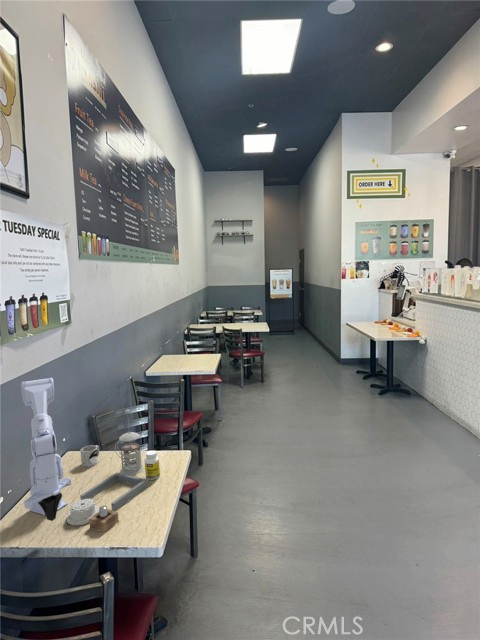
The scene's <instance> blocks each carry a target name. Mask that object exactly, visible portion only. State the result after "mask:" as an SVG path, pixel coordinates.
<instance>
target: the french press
mask: <svg viewBox="0 0 480 640" xmlns="http://www.w3.org/2000/svg"><path fill="white" fill-rule="evenodd" d="M124 413H125V414H127V416H129V413H131V411H130V409H125V411H124ZM127 424H128V428H130V425H129V424H130V423H129V419H127ZM140 437H141V435H140V433H137V432H133V431H128V432H126V433H123V434H121V436H119V438H118V439H119V440H118V441H116V442H115V445H114V450H115V454H116V455H117V456H118V457H119V458H120V459H121V460H120V461H121V469H120V470H119V474H124V475H129V476H135V475H138V474H140V473H142V472H144V470H145V465H144V464H142V453H141V447H140V444H139V443H136V442H134V441H136V440H138V439H139V438H140ZM119 442H120V444H121V445H122V444H123V443H124V442H129V443H126V444H123V445H122V446H121V448H120V449H121V450H119V448H117V449H116V447H117V445H118V444H119ZM132 442H133V443H132ZM117 451H118V452H119V454H120V455H119V454H118V453H117Z"/></svg>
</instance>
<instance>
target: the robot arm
mask: <svg viewBox="0 0 480 640" xmlns="http://www.w3.org/2000/svg"><path fill="white" fill-rule="evenodd" d="M20 388H21V398H22V401H23V404H24V406H25V407H30V408H31V410H32V411H33V418H32V419H31V421H30V425H31V439H30V448H31V455H32V459H31V461H30V463H29V475H30V476H29V477H30V485H31V486H30V489H29V495H30V496H29V498H26V500H24V501H23V506H24V508H25V509H27V510H29V512H33V513H37V514H40V515H44V516H45V517H46V519H47V521H50V522H53V521H54V520H57V519H56V518H57V512H58V510H60V509H62V508H63V507H65V506H67V505H68V503H69V502H68V501H64V500H62V498H63V493H62V491H61V490H63V489H64V488H66V487H70V486H72V479H71V478H70V477H65V478H64V470H63V469H64V468H63V461H62V457H61V456H60V454H58V453H57V450H58V445H57V438H56V434H55V431H54V426H53V419H52V416H50V414H49V415H48V408H49V405H50V404H51V403H52V402H54V401H55V400H54V399H55V392H56V391H55V383H54V378H53V377H48V378H41V379H34V380H28V381H25V380H24V381H22V382H21V383H20ZM54 449H55V450H54ZM63 478H64V479H63Z"/></svg>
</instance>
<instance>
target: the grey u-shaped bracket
mask: <svg viewBox="0 0 480 640" xmlns="http://www.w3.org/2000/svg"><path fill="white" fill-rule="evenodd" d="M116 482H119V483H124V484H129V485H134V486H133V487H132V488H131V489H129V490H128V491H126V492H125V493H123V494H121V496H119V497H117V498H116V499H115V500H114V501H112V502H111V505H110V507H111V510H112V511H117V510H118V509H119V508H121V507H122V506H123V505H125V504H126V503H127V502H129V501H130V500H132V499H133V498H134V497H135V496H137V495H138V494H140V493H141V492H142V491H144V490H145V489H146V488H147V487H148V486H149V480H148V479H146V478H142V477H138V476H135V475H130V476H129V475H124V474H120V472H115V473H113V474H111V475H110V476H109V477H107V478H105V479H104V480H102V481H101V482H99V483H98V484H95V486H93V487H91V488H90V489H88V490H87V491H85V492H83V493H82V494H80V495H79V496H80V497H79V498H80V499H79V500H84V499H89V498H90V499H92V498H93V497H95V496H96V495H98V494H99V493H101V492H102V491H104V490H105V489H107V488H108V487H110V486H111V485H113V484H114V483H116ZM94 495H95V496H94ZM91 497H92V498H91ZM132 497H133V498H132ZM129 499H130V500H129ZM128 500H129V501H128Z"/></svg>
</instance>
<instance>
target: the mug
mask: <svg viewBox="0 0 480 640" xmlns="http://www.w3.org/2000/svg"><path fill="white" fill-rule="evenodd" d="M79 450H80V460H81V466H82V467H83V468H92V467H94V466H97V465H98V464H99V455H100V447H99V445H97V444H96V445H93V444H92V445H91V444H90V445H85V446H84V447H82V448H80V449H79ZM97 463H98V464H97Z"/></svg>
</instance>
